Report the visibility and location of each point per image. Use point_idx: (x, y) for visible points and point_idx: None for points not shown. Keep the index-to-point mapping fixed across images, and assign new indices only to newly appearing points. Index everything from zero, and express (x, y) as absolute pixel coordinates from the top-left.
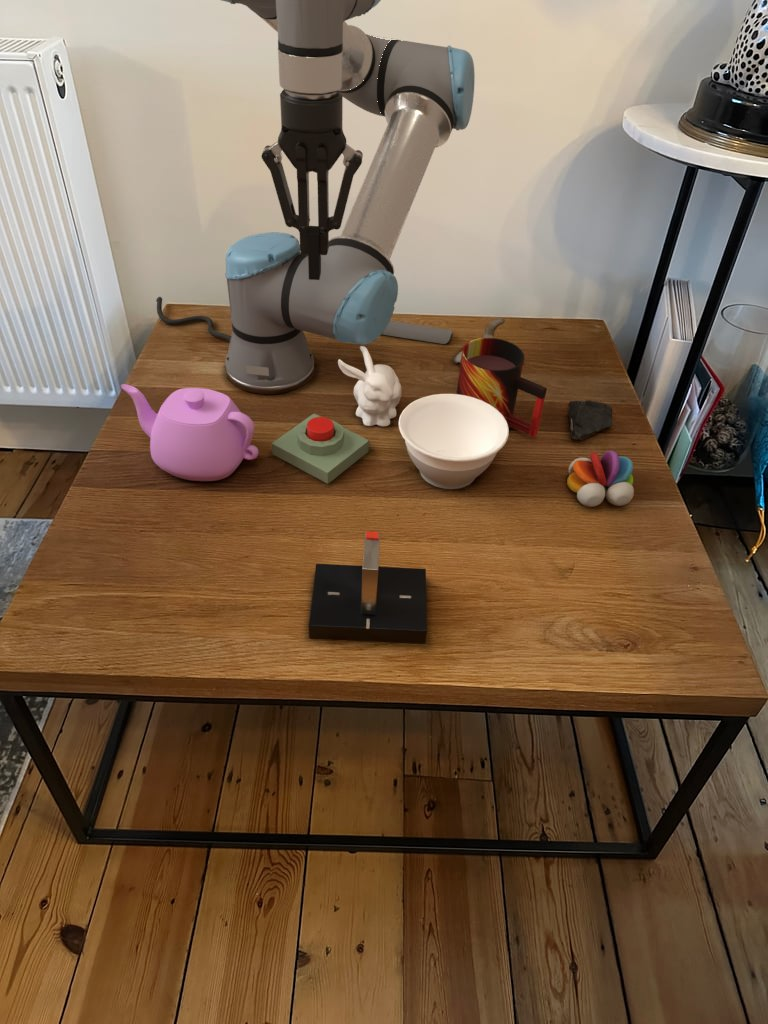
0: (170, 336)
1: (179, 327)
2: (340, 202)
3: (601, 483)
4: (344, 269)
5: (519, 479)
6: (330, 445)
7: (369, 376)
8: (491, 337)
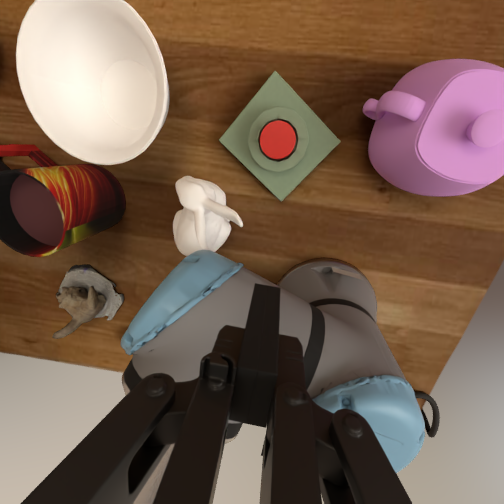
0: (426, 373)
1: (414, 387)
2: (71, 495)
3: None
4: (203, 354)
5: None
6: (267, 110)
7: (201, 201)
8: (73, 316)
